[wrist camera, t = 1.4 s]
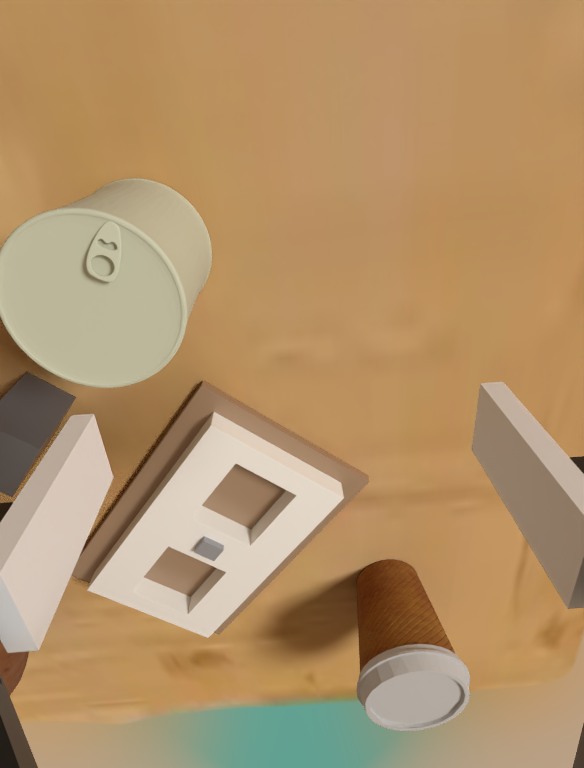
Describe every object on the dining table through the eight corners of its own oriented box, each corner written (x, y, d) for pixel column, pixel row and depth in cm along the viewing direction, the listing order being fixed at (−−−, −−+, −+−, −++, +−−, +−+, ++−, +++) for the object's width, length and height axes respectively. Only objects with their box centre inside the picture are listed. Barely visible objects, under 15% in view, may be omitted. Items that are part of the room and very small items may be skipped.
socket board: (70, 567, 48) (57, 596, 45) (202, 380, 39) (197, 402, 36) (219, 627, 53) (216, 657, 50) (367, 475, 44) (374, 501, 41)
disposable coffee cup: (341, 550, 48) (361, 670, 38) (438, 545, 49) (484, 663, 38) (339, 613, 53) (356, 737, 42) (427, 609, 53) (466, 730, 43)
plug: (-5, 432, 41) (-54, 488, 34) (27, 371, 38) (-20, 420, 32) (42, 454, 42) (2, 512, 36) (75, 397, 39) (39, 449, 33)
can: (230, 211, 33) (211, 256, 22) (189, 330, 37) (157, 416, 26) (91, 153, 31) (-1, 173, 21) (64, 286, 35) (-25, 359, 24)
